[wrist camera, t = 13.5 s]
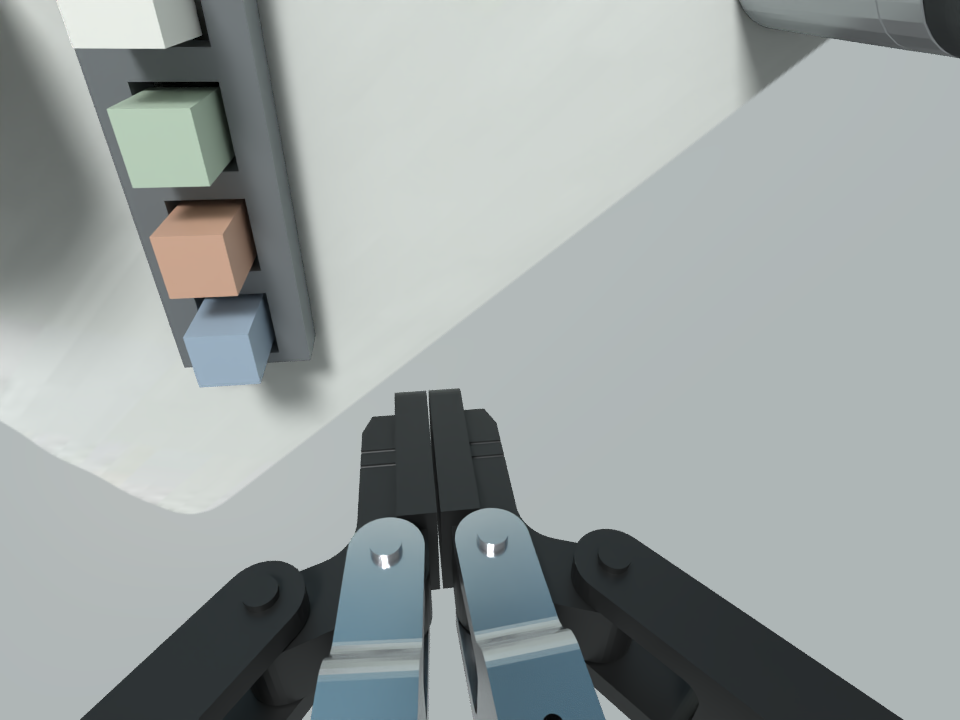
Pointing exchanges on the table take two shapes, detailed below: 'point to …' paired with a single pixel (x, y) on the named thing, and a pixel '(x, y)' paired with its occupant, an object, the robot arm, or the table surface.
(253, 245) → the terracotta key
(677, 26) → the table surface
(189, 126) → the sage key
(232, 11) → the grey long flat block
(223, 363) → the slate key
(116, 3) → the ivory key
